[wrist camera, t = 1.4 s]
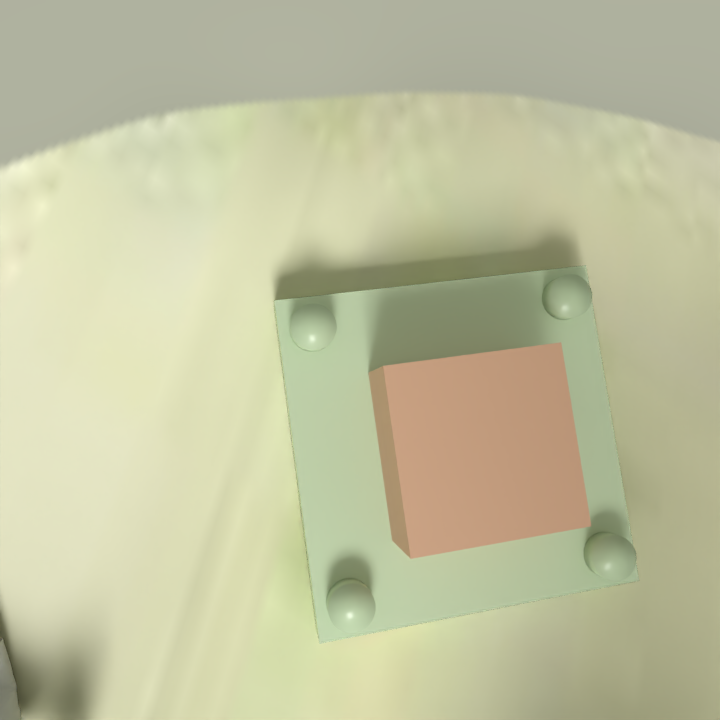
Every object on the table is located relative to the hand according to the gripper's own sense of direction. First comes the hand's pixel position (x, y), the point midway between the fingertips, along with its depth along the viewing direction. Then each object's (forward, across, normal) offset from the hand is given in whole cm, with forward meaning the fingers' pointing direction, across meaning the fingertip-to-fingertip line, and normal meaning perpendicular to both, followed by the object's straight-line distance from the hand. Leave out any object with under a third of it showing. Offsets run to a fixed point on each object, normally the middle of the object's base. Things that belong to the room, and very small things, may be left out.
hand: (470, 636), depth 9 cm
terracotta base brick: (+12, -5, +7) cm, 15 cm away
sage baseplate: (+13, -4, +7) cm, 16 cm away
